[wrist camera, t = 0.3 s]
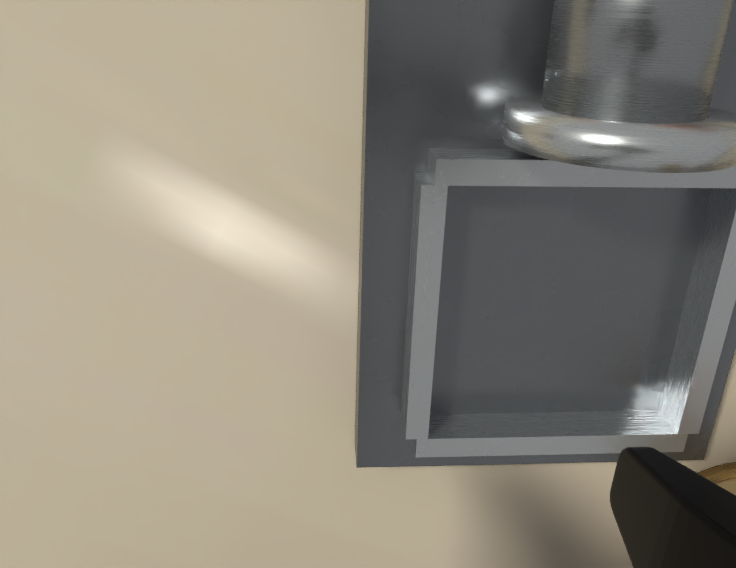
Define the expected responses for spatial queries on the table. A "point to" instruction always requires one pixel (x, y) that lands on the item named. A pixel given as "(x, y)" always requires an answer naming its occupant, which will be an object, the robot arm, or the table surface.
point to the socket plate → (545, 229)
